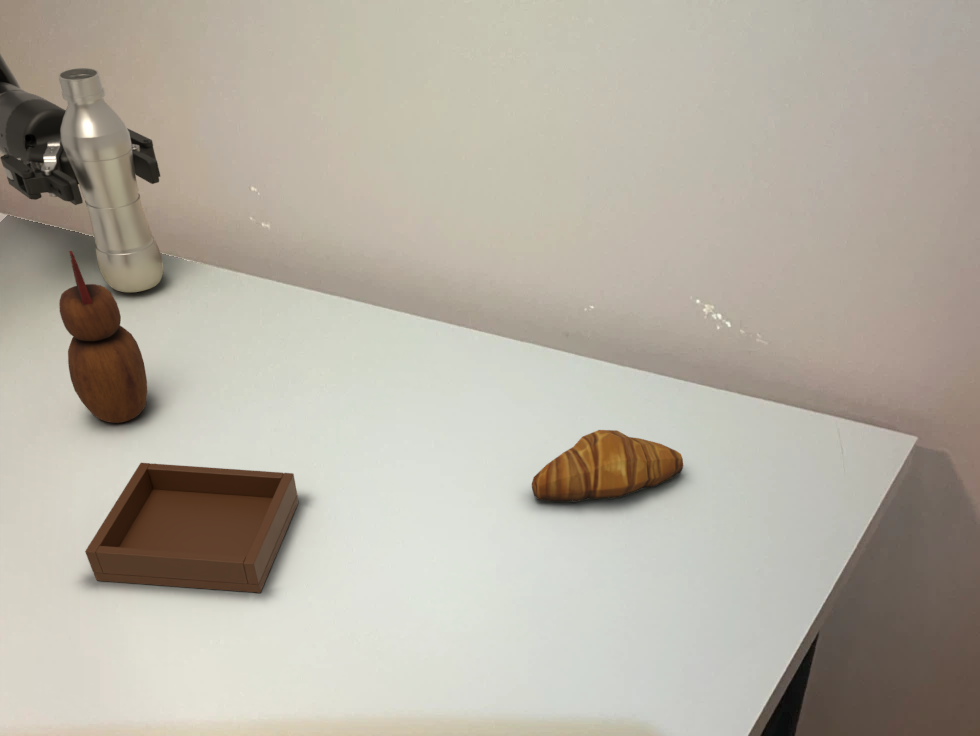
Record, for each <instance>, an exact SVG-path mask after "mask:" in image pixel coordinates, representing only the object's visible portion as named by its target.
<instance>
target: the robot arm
mask: <svg viewBox="0 0 980 736" xmlns="http://www.w3.org/2000/svg"><path fill="white" fill-rule="evenodd" d="M65 112H66V109H64V108H62V107H60V106H59V105H56V104H55V103H54V102H51V101H49V100H47V99H45V98H44V97H41V96H39V95H37V94H34V93H30V92H28V91H25V90H24V89H22V88H21V86H20V84H19V81H18V79H16V77H15V75H14V74H13V72H12V70H11V69H10V68H9V65H8V64H7V62H6V61H5V59H4V57H3V56H2V53H0V154H1V156H0V161H1V165H2V167H3V171H4V173H5V176H6V179H7V182H8V184H9V186H11V187H13V188H14V189H15V190H17V191H18V192H19V193H21V194H22V195H23V196H25V197H26V198H27V199H29V200H34V201H36V200H39V199H41V198H42V197H43V196H42V194H47V193H48V196H49V197H52V198H59V199H61V200H62V201H65V202H69V203H71V204H73V205H75V206H77V205H81V204H83V203H84V201H83V196H82V192H81V189H80V186H79V183H78V180H77V178H76V175H75V173H74V171H73V169H72V166H71V164H70V162H69V160H68V157H67V155H66V152H65V151H64V148H63V145H62V143H61V132H60V129H61V124H62V121H63V117H64V114H65ZM127 129H128V131H129V134H130V139H131V146H132V153H133V161H134V169H135V175H136V177H138V178H140V179H142V180H144V181H146V182H148V183H149V184H151V185H154V184H158V183H159V182H160V177H161V172H160V169H159V168H160V167H159V163H158V159H157V157H156V153H155V149H154V142H153V140H152V139H151V138H148V137H147V136H145V135H143V134H140V133H138V132H136V131H134V130H132V129H130V128H128V127H127Z"/></svg>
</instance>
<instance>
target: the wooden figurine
mask: <svg viewBox="0 0 980 736" xmlns="http://www.w3.org/2000/svg"><path fill="white" fill-rule="evenodd" d="M69 256H70V263H71V268H72V273H73V276H74V280H75V281H74V282H75V285H74V286H72V287H69V288H67V289H66V290H64V291H63V292H62V293H61V295H60V297H59V302H58V303H59V314H60V318H61V320H62V321H61V322H62V323H63V326H64V327H65V330H66V331H67V332H68V333H69V335H70V336H72V337H71V340H70V343H69V346H68V349H67V363H68V372H69V377H70V380H71V383H72V387H73V389H74V392H75V394H76V395H77V396H78V398H79V400H80V402H81V403H82V404H83V405H84V406H85V408H86V409H87V410H88V411H89V413H91V414H92V416H94V417H95V418H97V419H98V420H101V421H103V422H107V423H114V424H120V423H126V422H129V421H131V420H133V419H135V418H137V417H138V416H139V415H140V414H141V413H142V412H143V410H144V409H145V408H146V405H147V397H148V378H147V372H146V367H145V361H144V358H143V355H142V352H141V349H140V346H139V344H138V342H137V340H136V339H135V338H134V337H135V336H133V334H132V333H131V332H129V330H128V329H126V328H125V327H123V326H121V320H122V317H121V316H122V315H121V311H120V309H119V306H118V303H117V301H116V298H115V297H114V296H113V294H112V293H111V291H110V290H109V289H108V288H106V287H105V286H102V285H101V284H100V285H99V284H94V283H86V282H85V280H84V277H83V275H82V272H81V270H80V267H79V265H78V262H77V259H76V257H75V254H74V252H73V250H69Z"/></svg>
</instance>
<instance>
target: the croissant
mask: <svg viewBox="0 0 980 736" xmlns="http://www.w3.org/2000/svg"><path fill="white" fill-rule="evenodd" d="M683 468H684V459H683V456H682V453H680V452H679V451H677V450H675V449H673V448H671V447H670V446H669V447H668V446H667V445H664V444H662V443H660V442H656V441H651V440H647V439H645V438H644V439H643V438H640V437H633V436H628V435H627V434H624V433H622V432H621V431H619V430H615V429H614V430H613V429H598V430H595V431H593V432H590V433H588V434H585V435H583V436H581V437H580V439H579V440H578V441H577V442H576V443H575V444H574V445H573V446H572V447H570V448H569V449H567V450H565V451H564V452H563V453H561V454H559V455H558V456H557V457H555V458H554V459H552V460H551V461H550V462H548V463H546V465H544V467H542V469H540V470H539V471H538V473H536V474H535V475H534V476H533V478H532V481H531V489H532V492H533V496H534V498H536V499H537V500H539V501H545V502H553V503H566V502H567V503H568V502H569V503H572V502H573V503H575V502H582V501H585V500H611V499H619V498H623V497H625V496H628V495H632V494H634V493H637V492H638V491H641V490H643V489H649V488H654V487H657V486H658V485H660V484H662V483H663V484H664V483H665V482H668V481H670V480H672V479H673V478H675V477H676V476H678V475H679V474H681V473H682V471H683Z"/></svg>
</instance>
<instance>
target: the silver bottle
mask: <svg viewBox="0 0 980 736" xmlns="http://www.w3.org/2000/svg"><path fill="white" fill-rule="evenodd" d="M58 81H59V84H60V88H61V96H62V98H63V100H64V101H66V102H67V107H66V109H65V110H66V112H65V114H64V117H63V121H62V124H61V129H60V132H61V143H62V145H63V148H64V151H65V152H66V155H67V157H68V160H69V162H70V164H71V166H72V169H73V171H74V173H75V175H76V178H77V180H78V183H79V184H78V186H79V189H80V192H81V195H82V198H83V199H84V201H85V205H86V208H87V211H88V215H89V220H90V225H91V228H92V234H93V238H94V243H95V255H96V261H97V266H98V270H99V271H100V274H101V275H102V278H103V279H104V281H105V283H106V284H108V285H109V286H110V287H111V288H112V289H113V290H115V291H117V292H122V293H137V292H138V293H139V292H144V291H147V290H150V289H152V288H155V287H156V286H158V285H159V283H160V282H161V281H162V278H163V274H164V263H163V256H162V254H161V251H160V248H159V246H158V244H157V241H156V239H155V237H154V235H153V233H152V230H151V228H150V224H149V221H148V219H147V215H146V213H145V210H144V207H143V203H142V199H141V195H140V193H139V185H138V181H137V175H136V174H135V169H134V161H133V153H132V146H131V139H130V134H129V131H128V129H129V128H128V127H127V125H126V124H125V122H124V121H123V119H122V118H121V117H120V116H119V114H117V112H116V111H115V110H114V109H113V108H112V107H111V106H110V105H109V104H108V103H107V102H106V100H105V98H104V97H105V96H106V91H105V87H103V83H102V79H101V76H100V73H99V71H98V70H97V69H95V68H89V67H78V68H70V69H66V70H63V71H61V72H60V73H59V74H58ZM127 128H128V129H127Z"/></svg>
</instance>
